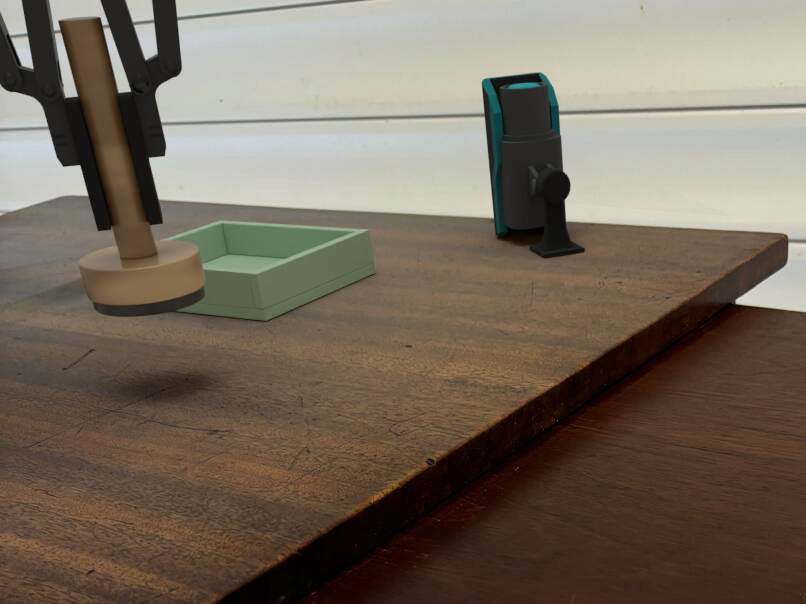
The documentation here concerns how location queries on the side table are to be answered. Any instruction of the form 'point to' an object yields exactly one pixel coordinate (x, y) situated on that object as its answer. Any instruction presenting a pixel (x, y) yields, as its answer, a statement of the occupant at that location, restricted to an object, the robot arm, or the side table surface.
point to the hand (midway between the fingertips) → (130, 221)
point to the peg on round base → (123, 198)
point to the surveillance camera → (527, 160)
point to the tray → (274, 266)
